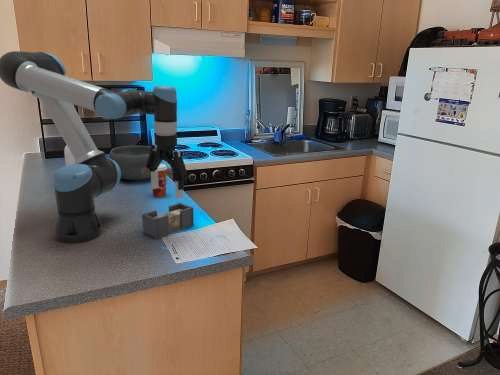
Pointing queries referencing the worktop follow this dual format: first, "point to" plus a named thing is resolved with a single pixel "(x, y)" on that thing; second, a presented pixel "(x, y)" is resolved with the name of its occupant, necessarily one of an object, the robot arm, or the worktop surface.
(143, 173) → the bowl
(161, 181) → the paper cup
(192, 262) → the worktop surface
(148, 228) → the end caps
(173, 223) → the beige mottled block
